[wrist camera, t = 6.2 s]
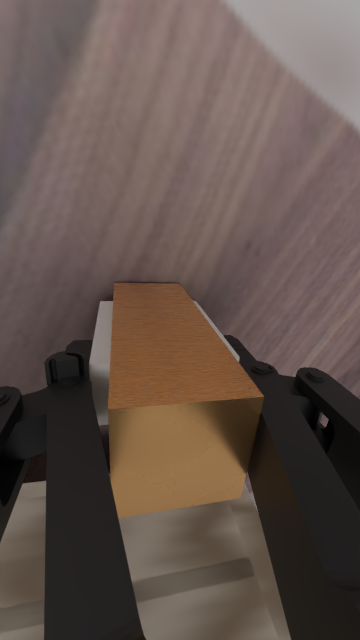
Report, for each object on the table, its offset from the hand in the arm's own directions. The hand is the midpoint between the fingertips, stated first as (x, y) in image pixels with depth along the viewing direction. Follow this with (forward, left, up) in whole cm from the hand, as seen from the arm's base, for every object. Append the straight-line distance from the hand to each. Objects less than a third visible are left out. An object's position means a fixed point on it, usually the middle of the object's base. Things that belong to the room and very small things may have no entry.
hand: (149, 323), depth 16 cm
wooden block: (0, -7, -1) cm, 7 cm away
